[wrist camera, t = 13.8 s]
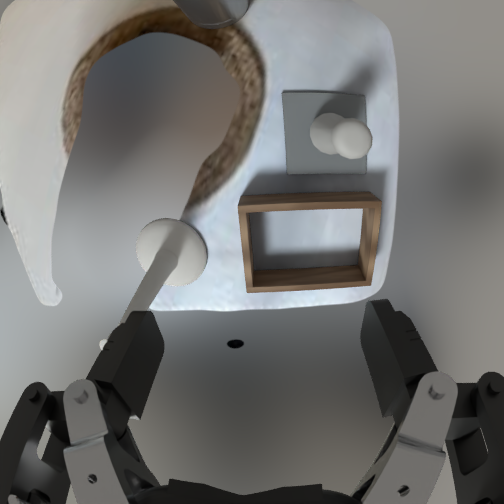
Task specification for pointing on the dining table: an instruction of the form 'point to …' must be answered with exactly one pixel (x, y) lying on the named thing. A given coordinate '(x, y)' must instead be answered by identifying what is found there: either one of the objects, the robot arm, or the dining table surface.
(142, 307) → the candlestick
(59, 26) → the dining table surface
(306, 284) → the frame
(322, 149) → the salt shaker
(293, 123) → the grey mat
